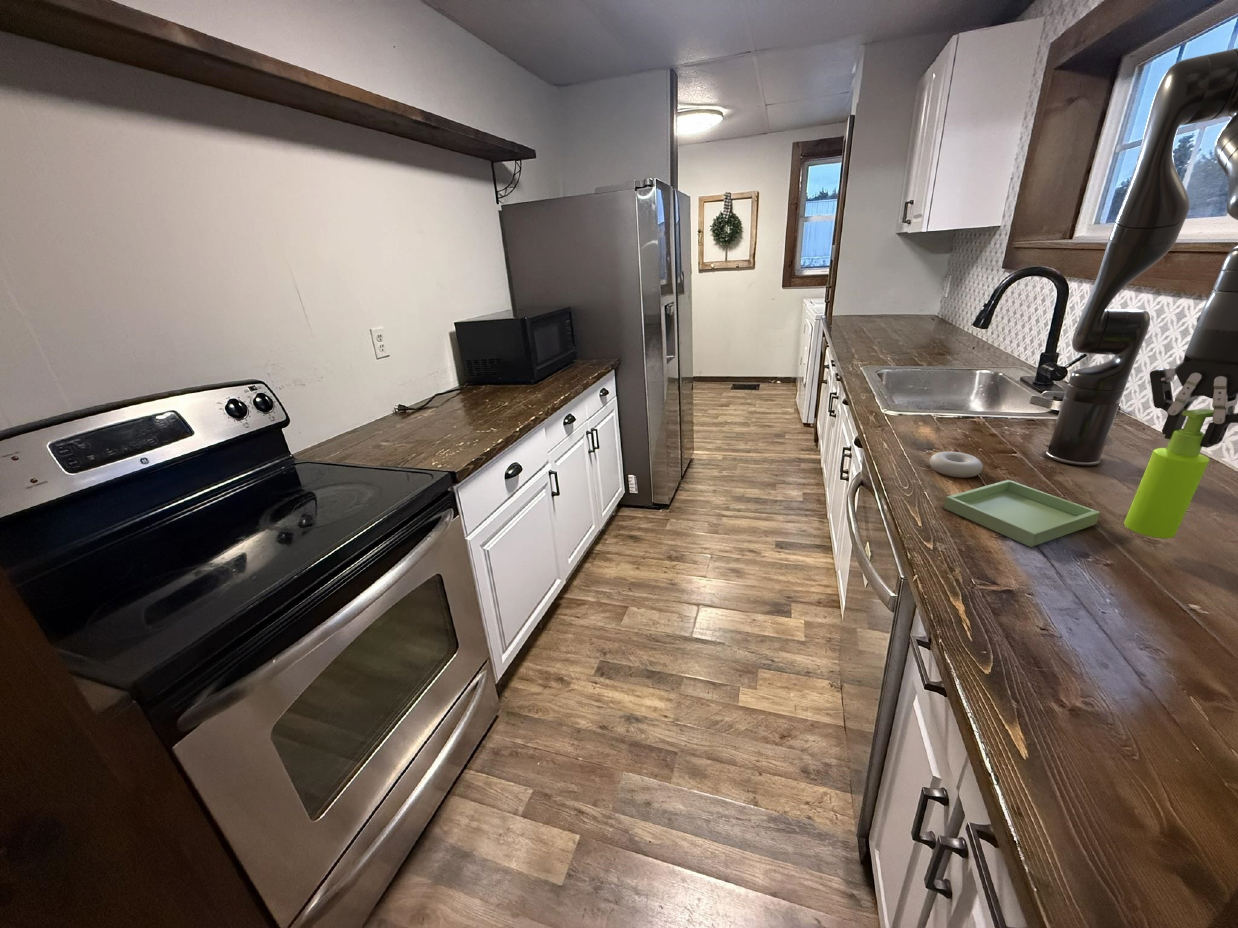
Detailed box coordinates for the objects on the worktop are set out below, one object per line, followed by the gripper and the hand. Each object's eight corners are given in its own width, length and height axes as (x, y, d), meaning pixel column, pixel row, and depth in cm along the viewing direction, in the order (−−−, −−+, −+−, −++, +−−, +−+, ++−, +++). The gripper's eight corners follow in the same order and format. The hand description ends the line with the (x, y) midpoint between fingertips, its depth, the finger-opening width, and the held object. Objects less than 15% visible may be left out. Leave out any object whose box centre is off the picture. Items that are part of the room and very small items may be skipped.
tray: (1005, 490, 102) (1008, 479, 101) (1096, 524, 88) (1100, 511, 87) (943, 508, 96) (946, 496, 95) (1030, 547, 83) (1034, 534, 82)
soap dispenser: (1192, 537, 78) (1250, 416, 70) (1147, 539, 78) (1200, 418, 70) (1156, 519, 83) (1206, 404, 75) (1113, 520, 83) (1159, 406, 76)
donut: (937, 479, 108) (989, 480, 106) (940, 465, 107) (993, 466, 105) (921, 462, 117) (969, 463, 115) (924, 448, 116) (972, 449, 114)
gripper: (1332, 328, 63) (1270, 453, 70) (1183, 318, 76) (1142, 425, 82) (1303, 333, 61) (1242, 462, 68) (1154, 322, 73) (1115, 432, 80)
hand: (1188, 441), depth 75 cm, fingers closed on soap dispenser, 3 cm apart
